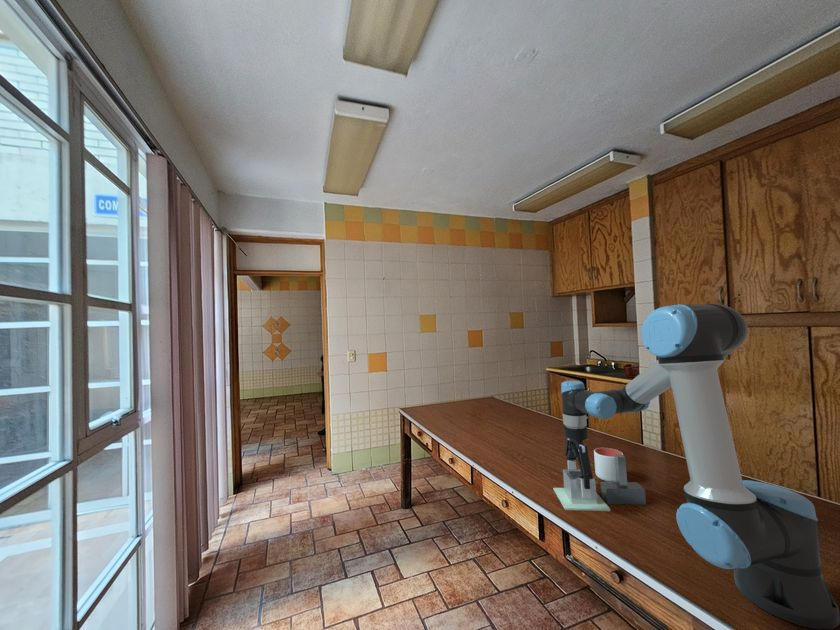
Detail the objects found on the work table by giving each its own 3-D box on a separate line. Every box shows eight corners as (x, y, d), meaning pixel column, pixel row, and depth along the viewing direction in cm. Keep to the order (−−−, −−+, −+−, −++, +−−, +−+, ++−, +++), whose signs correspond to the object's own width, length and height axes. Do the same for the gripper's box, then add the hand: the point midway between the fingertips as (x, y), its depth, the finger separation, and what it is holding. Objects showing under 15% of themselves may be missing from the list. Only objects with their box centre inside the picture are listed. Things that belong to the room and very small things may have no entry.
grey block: (645, 504, 109) (642, 458, 109) (607, 503, 110) (604, 458, 111) (637, 496, 114) (634, 453, 114) (601, 496, 115) (598, 453, 116)
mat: (610, 511, 106) (610, 509, 106) (565, 510, 108) (565, 508, 108) (593, 490, 120) (593, 488, 120) (553, 489, 121) (553, 487, 121)
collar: (596, 504, 109) (595, 479, 109) (571, 503, 110) (570, 479, 110) (587, 492, 117) (586, 469, 117) (564, 491, 118) (562, 469, 118)
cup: (629, 484, 122) (627, 457, 123) (600, 483, 124) (598, 456, 125) (618, 473, 132) (617, 448, 133) (592, 472, 134) (590, 447, 135)
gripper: (601, 437, 102) (606, 507, 101) (574, 416, 127) (578, 472, 126) (576, 437, 103) (580, 506, 102) (554, 416, 128) (557, 472, 127)
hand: (579, 487), depth 114 cm, fingers open, 13 cm apart
